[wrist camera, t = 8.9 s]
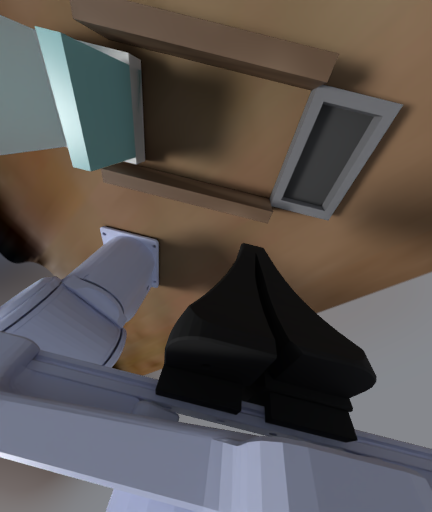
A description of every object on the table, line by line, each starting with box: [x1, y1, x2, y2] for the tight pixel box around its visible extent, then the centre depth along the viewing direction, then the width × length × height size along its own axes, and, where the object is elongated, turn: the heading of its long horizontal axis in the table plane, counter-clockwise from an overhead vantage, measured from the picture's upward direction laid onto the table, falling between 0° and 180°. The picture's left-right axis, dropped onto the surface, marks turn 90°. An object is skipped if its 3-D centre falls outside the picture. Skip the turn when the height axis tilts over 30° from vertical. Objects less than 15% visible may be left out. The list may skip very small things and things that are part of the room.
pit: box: [270, 85, 403, 220], centre depth 16 cm, size 9×6×2 cm, turn 169°
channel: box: [70, 0, 339, 223], centre depth 15 cm, size 11×16×4 cm
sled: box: [0, 15, 145, 171], centre depth 13 cm, size 7×8×8 cm
